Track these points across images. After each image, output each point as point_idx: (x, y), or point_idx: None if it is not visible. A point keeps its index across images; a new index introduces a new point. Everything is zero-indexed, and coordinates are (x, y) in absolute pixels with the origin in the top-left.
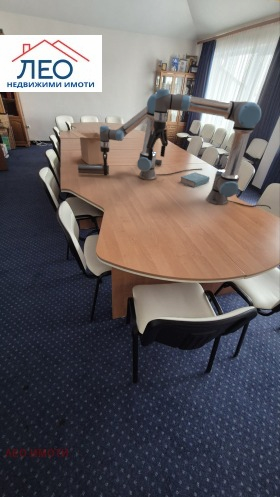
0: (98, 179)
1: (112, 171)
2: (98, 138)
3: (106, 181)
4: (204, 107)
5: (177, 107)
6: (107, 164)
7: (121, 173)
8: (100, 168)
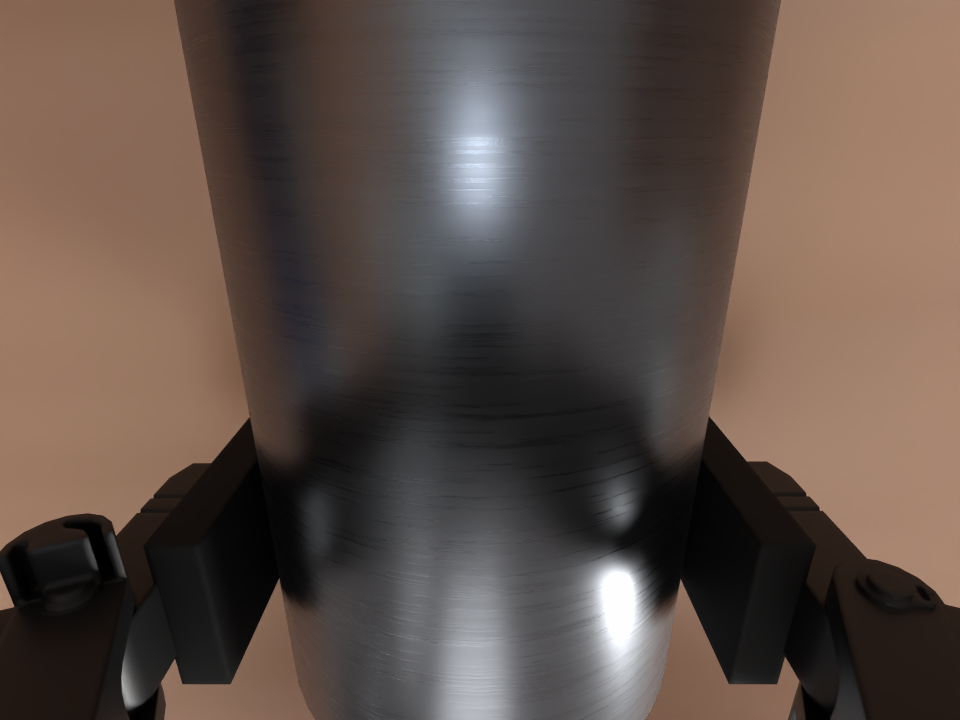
0: (130, 162)
1: (898, 542)
2: None
3: (38, 408)
4: None
5: None
6: (790, 716)
7: (707, 716)
8: (236, 323)
